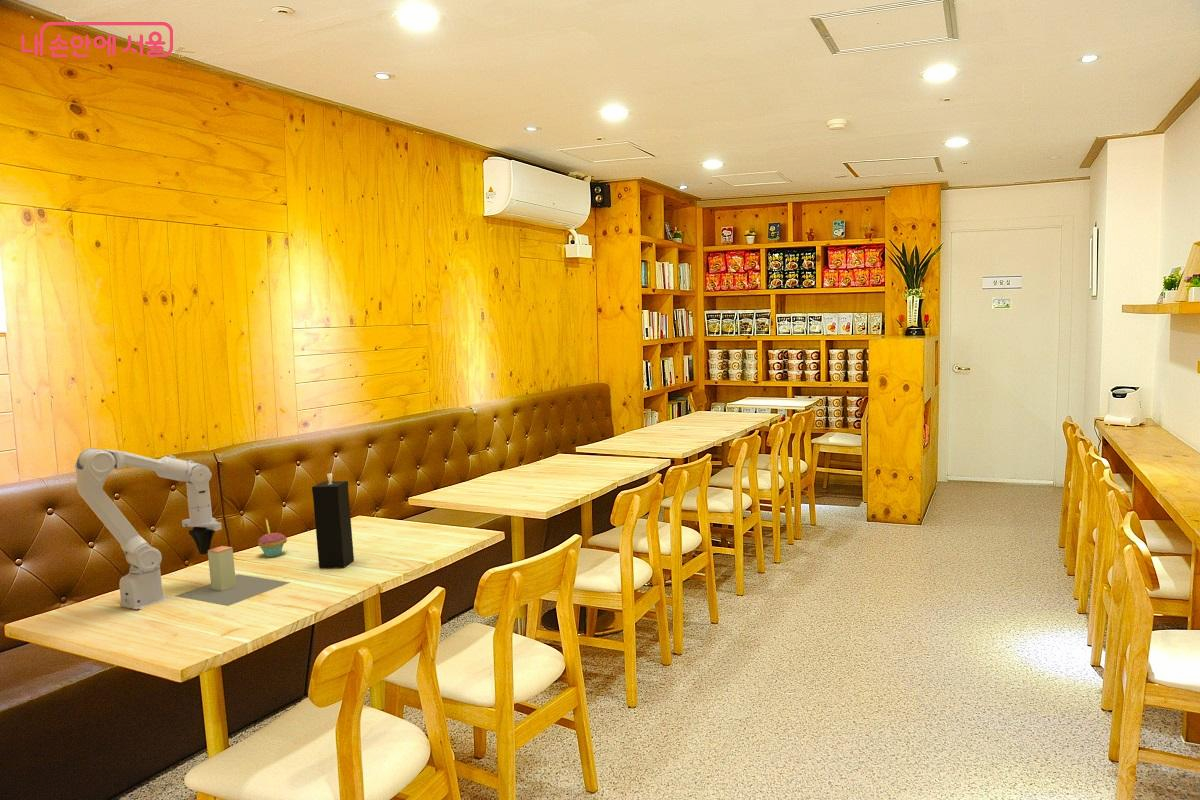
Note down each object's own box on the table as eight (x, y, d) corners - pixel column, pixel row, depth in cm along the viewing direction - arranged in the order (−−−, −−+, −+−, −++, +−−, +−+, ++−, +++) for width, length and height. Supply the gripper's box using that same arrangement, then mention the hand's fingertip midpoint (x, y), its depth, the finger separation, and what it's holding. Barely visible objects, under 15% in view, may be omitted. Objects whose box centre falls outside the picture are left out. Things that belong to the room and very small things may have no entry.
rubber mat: (228, 608, 214) (228, 605, 214) (174, 597, 225) (174, 595, 225) (290, 584, 231) (290, 582, 231) (238, 576, 242) (238, 574, 242)
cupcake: (253, 557, 262) (249, 520, 261) (274, 550, 269) (271, 514, 268) (272, 559, 258) (268, 522, 257) (293, 552, 265) (290, 515, 264)
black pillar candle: (354, 560, 252) (347, 470, 250) (344, 568, 245) (336, 475, 242) (329, 561, 253) (322, 471, 250) (318, 568, 245) (310, 475, 243)
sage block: (222, 590, 227) (218, 551, 226) (211, 589, 229) (207, 550, 228) (236, 585, 231) (232, 547, 230) (225, 584, 233) (221, 545, 232)
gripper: (229, 504, 231) (233, 551, 232) (196, 501, 238) (200, 547, 239) (206, 510, 225) (211, 558, 226) (173, 506, 232) (178, 553, 233)
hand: (204, 553), depth 232 cm, fingers closed
